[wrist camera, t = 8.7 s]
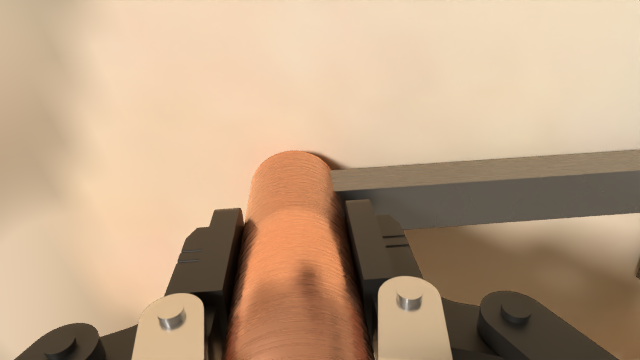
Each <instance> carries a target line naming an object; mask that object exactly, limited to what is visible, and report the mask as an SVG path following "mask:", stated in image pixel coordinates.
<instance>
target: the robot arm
mask: <svg viewBox="0 0 640 360" xmlns="http://www.w3.org/2000/svg"><path fill="white" fill-rule="evenodd" d="M344 210H345V225H346V230H347V234H348V239H349V243H350V248H351V253H352V257H353V262H354V266H355V271H356V276H357V280H358V285H359V289H360V294H361V299H362V303H363V308H364V312H365V316H366V321H367V326H368V330H369V335H370V339H371V344H372V348H373V353H374V355H375V359H376V360H618V359H617V358H616V357H614V356H613V355H611V354H610V353H609V352H607V351H606V350H604V349H603V348H602V347H600V346H599V345H597V344H596V343H595V342H593V341H592V340H590V339H589V338H588V337H586V336H585V335H583V334H582V333H581V332H579V331H578V330H576V329H575V328H574V327H572V326H571V325H569V324H568V323H567V322H565V321H564V320H562V319H561V318H560V317H558V316H557V315H555V314H554V313H553V312H551V311H550V310H548V309H547V308H546V307H544V306H543V305H541V304H540V303H539V302H537V301H536V300H534V299H532V298H530V297H528V296H526V295H523V294H520V293H517V292H511V291H498V292H493V293H490V294H488V295H487V296H485V297H484V298H483V300H482V301H481V305H480V306H475V305H469V304H463V303H457V302H453V301H450V300H447V299H444V298H442V297H440V294H439V292H438V290H437V289H436V288H435V287H434V286H433V285H432V284H430V283H429V282H427V281H425V280H423V277H422V275H421V272H420V270H419V268H418V265H417V263H416V261H415V258H414V256H413V253H412V251H411V249H410V246H409V244H408V241H407V239H406V237H405V234H404V232H403V230H402V227H401V225H400V223H399V222H397V221H396V220H395V219H394V218H393V217H391V216H390V215H389V214H387V215H375V213H374V210H373V207H372V204H371V201H370V199H364V200H350V201H345V205H344ZM243 230H244V221H243V215H242V210H241V208H233V209H218V210H215V211H214V213H213V216H212V220H211V223H210V226H209V227H203V228H197V229H196V230H195V231H194V232H192V233H191V234H190V235H189V236H188V237H187V238H186V240H185V243H184V245H183V248H182V251H181V252H182V253H180V256H179V258H178V263H177V264H176V266H175V269H174V272H173V274H172V277H171V280H170V282H169V285H168V287H167V290H166V293H165V295H164V297H162V298H160V299H158V300H156V301H155V302H153V303H152V304H151V305H149V306H148V307H147V308H146V309H145V310H144V312H143V313H142V314H141V316H140V319H139V322H138V324H137V325H135V326H133V327H130V328H127V329H124V330H121V331H118V332H115V333H112V334H109V335H106V336H103V337H100V336H99V334H98V331H97V330H96V328H95V327H93V326H92V325H89V324H85V323H75V324H69V325H65V326H62V327H59V328H57V329H54V330H52V331H50V332H49V333H47V334H45V335H44V336H42V337H41V338H40V339H38V340H37V341H36V342H35V343H33V344H32V345H31V346H30V347H29V348H27V349H26V350H25V351H24V352H23V353H22V354H20V355H19V356H18V357H17V358H16V359H14V360H221V359H222V353H223V347H224V341H225V335H226V329H227V323H228V318H229V312H230V306H231V300H232V294H233V288H234V283H235V277H236V271H237V265H238V259H239V253H240V247H241V242H242V236H243Z"/></svg>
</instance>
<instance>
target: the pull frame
mask: <svg viewBox="0 0 640 360" xmlns="http://www.w3.org/2000/svg"><path fill="white" fill-rule="evenodd" d="M364 199H370V201H371V204H372V207H373V210H374V213H375V215H387V214H389V215H390V216H391V217H393V218H394V219H395V220H396V221H397V222H399V223H400V225H401V227H402V230H407V229H421V228H435V227H448V226H462V225H476V224H490V223H503V222H517V221H531V220H545V219H559V218H572V217H586V216H600V215H614V214H628V213H640V150H629V151H614V152H599V153H584V154H569V155H553V156H538V157H523V158H508V159H493V160H478V161H463V162H448V163H433V164H418V165H403V166H388V167H373V168H358V169H343V170H331V169H330V167H329V166H328V165H327V164H326V163H325V162H324V161H323V160H321V159H320V158H319V157H317V156H315V155H313V154H310V153H307V152H303V151H286V152H282V153H278V154H276V155H273V156H272V157H270V158H268V159H267V160H265V161H264V162H263V163H262V164H261V165H260V166H259V168H258V169H257V170H256V172H255V174H254V176H253V179H252V183H251V189H250V195H249V201H248V207H247V212H246V218H245V224H244V230H243V236H242V242H241V247H240V253H239V259H238V265H237V271H236V277H235V283H234V288H233V294H232V300H231V306H230V312H229V318H228V323H227V329H226V335H225V341H224V347H223V353H222V359H221V360H375V358H374V353H373V348H372V344H371V339H370V335H369V330H368V326H367V321H366V316H365V312H364V308H363V303H362V299H361V294H360V289H359V285H358V280H357V276H356V271H355V266H354V262H353V257H352V253H351V248H350V243H349V239H348V234H347V230H346V225H345V210H344V205H345V201H350V200H364ZM636 277H637V278H638V279H639V280H640V268H639V270H638V273H637V276H636Z"/></svg>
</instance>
